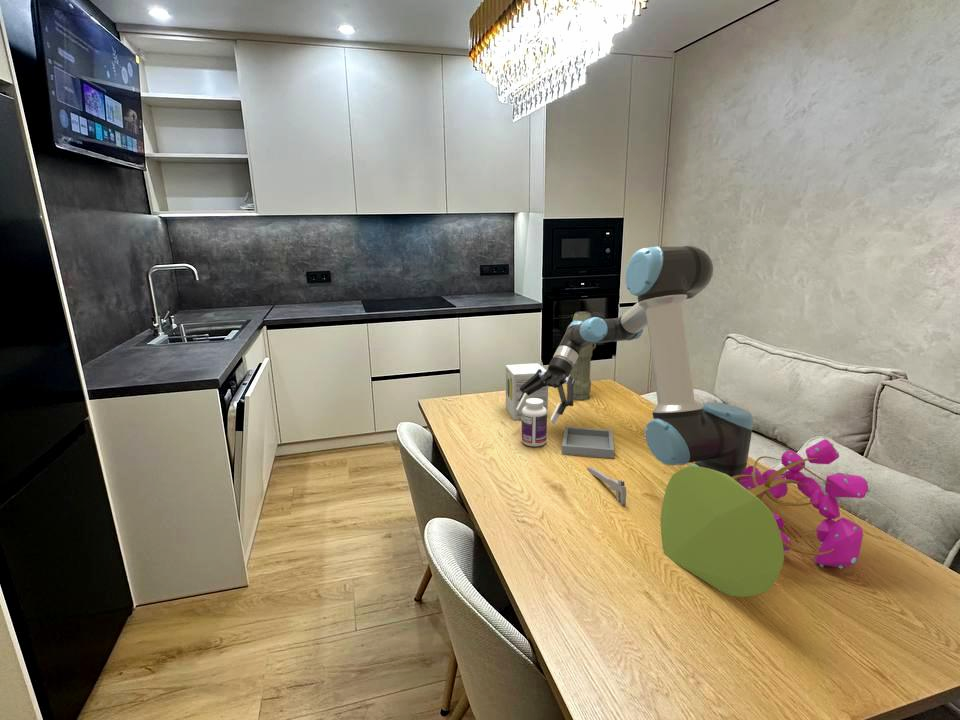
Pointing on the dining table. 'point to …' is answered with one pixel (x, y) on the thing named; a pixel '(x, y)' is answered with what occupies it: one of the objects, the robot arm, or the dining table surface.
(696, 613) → the dining table surface
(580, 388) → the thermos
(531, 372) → the supplement box
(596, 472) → the caliper
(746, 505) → the fallen flowering cactus
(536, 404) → the pill bottle
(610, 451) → the tray
